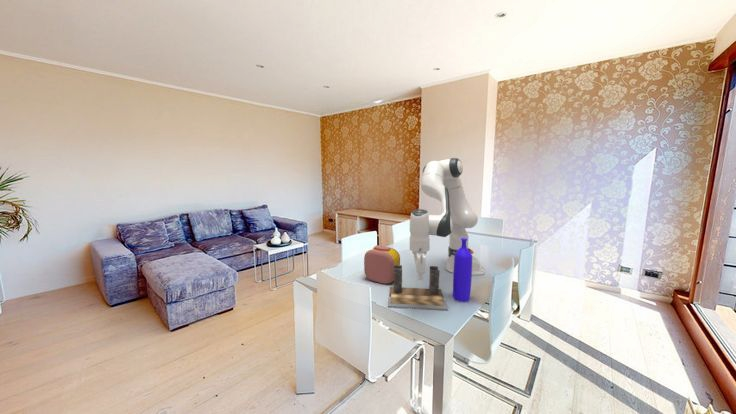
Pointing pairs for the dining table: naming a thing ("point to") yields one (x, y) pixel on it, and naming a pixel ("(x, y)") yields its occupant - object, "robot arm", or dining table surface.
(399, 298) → the rail
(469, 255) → the bottle
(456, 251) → the robot arm
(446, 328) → the dining table surface
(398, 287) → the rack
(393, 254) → the alarm clock
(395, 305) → the mat
